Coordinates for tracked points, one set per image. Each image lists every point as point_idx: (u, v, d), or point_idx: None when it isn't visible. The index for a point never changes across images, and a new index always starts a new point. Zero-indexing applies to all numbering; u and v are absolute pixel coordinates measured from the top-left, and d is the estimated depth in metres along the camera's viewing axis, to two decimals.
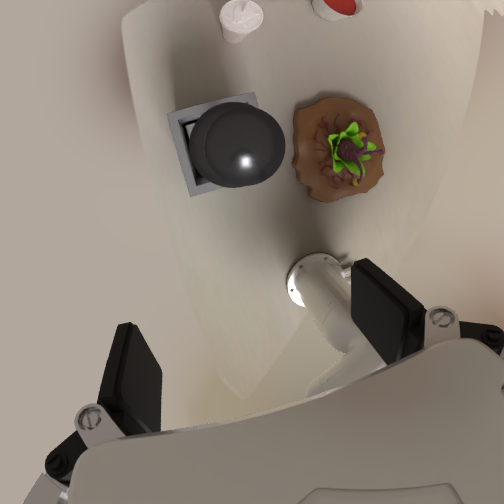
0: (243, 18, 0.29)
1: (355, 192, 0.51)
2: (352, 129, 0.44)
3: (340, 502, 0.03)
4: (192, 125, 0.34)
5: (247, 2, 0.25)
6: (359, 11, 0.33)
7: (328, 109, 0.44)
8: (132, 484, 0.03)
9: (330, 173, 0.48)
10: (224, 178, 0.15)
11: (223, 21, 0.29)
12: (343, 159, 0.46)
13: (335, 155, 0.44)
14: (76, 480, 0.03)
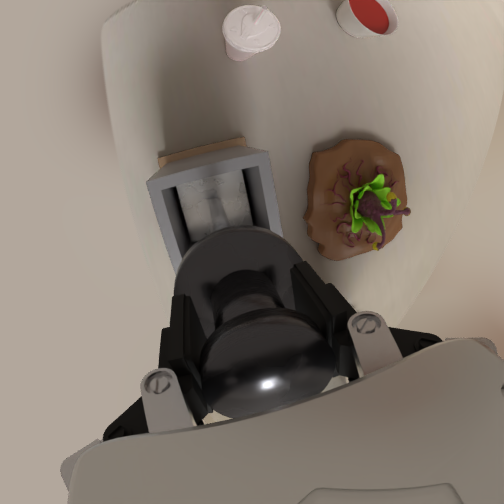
0: (253, 32, 0.23)
1: (370, 249, 0.45)
2: (377, 181, 0.38)
3: (340, 502, 0.03)
4: None
5: (261, 11, 0.19)
6: (393, 29, 0.27)
7: (351, 154, 0.38)
8: (132, 484, 0.03)
9: (346, 229, 0.43)
10: (235, 417, 0.09)
11: (227, 35, 0.23)
12: (363, 215, 0.41)
13: (355, 213, 0.39)
14: (76, 480, 0.03)
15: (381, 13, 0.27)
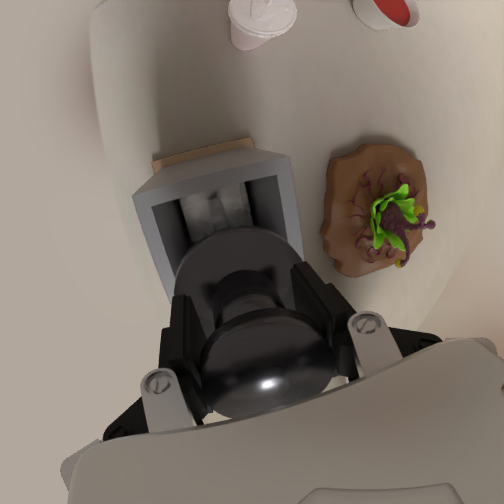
0: (265, 14, 0.18)
1: (390, 264, 0.41)
2: (400, 191, 0.34)
3: (340, 502, 0.03)
4: None
5: None
6: (415, 22, 0.22)
7: (372, 160, 0.34)
8: (132, 484, 0.03)
9: (366, 243, 0.38)
10: (235, 417, 0.09)
11: (234, 17, 0.18)
12: (384, 229, 0.36)
13: (378, 228, 0.34)
14: (76, 480, 0.03)
15: (401, 4, 0.22)
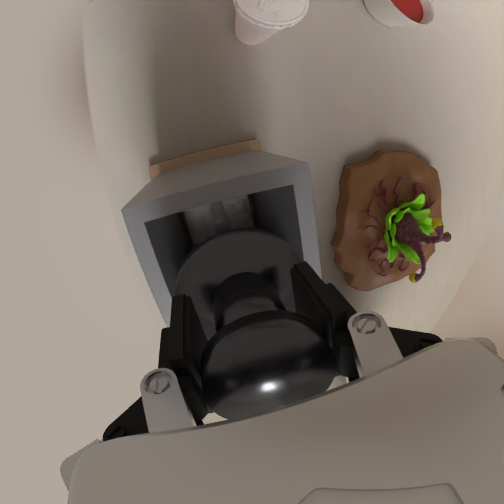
0: (274, 3, 0.16)
1: (402, 277, 0.38)
2: (416, 201, 0.31)
3: (340, 502, 0.03)
4: None
5: None
6: (430, 19, 0.20)
7: (388, 168, 0.31)
8: (132, 484, 0.03)
9: (379, 256, 0.36)
10: None
11: (240, 5, 0.15)
12: (398, 241, 0.34)
13: (393, 240, 0.31)
14: (76, 480, 0.03)
15: (414, 0, 0.20)
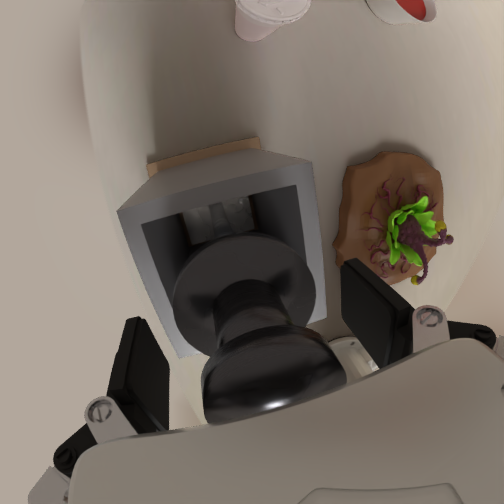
0: None
1: (403, 279, 0.38)
2: (419, 203, 0.31)
3: (340, 502, 0.03)
4: None
5: None
6: (432, 17, 0.19)
7: (392, 169, 0.31)
8: (132, 484, 0.03)
9: (381, 258, 0.35)
10: None
11: (240, 0, 0.15)
12: (401, 243, 0.33)
13: (395, 242, 0.31)
14: (76, 480, 0.03)
15: None
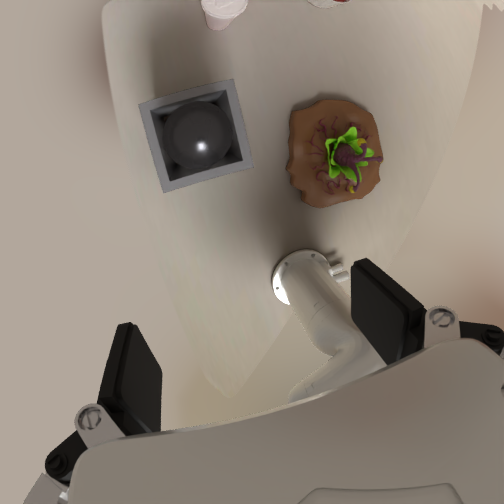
0: (226, 3, 0.26)
1: (350, 198, 0.50)
2: (350, 133, 0.42)
3: (340, 502, 0.03)
4: None
5: None
6: None
7: (326, 111, 0.42)
8: (132, 484, 0.03)
9: (326, 177, 0.47)
10: (183, 159, 0.19)
11: (204, 6, 0.25)
12: (339, 164, 0.45)
13: (332, 160, 0.43)
14: (76, 480, 0.03)
15: None
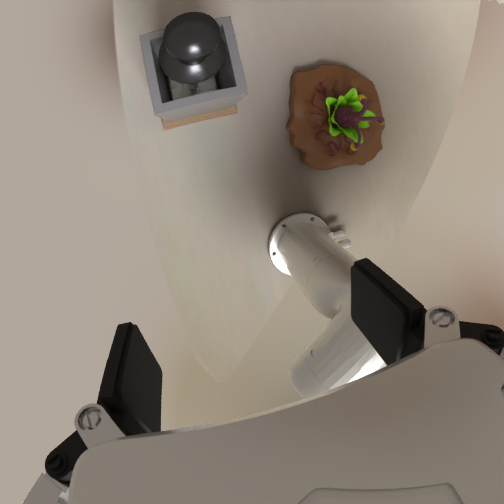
0: None
1: (352, 162, 0.47)
2: (351, 96, 0.40)
3: (340, 502, 0.03)
4: None
5: None
6: None
7: (327, 74, 0.40)
8: (132, 484, 0.03)
9: (326, 138, 0.44)
10: (174, 53, 0.16)
11: None
12: (340, 125, 0.42)
13: (332, 118, 0.40)
14: (76, 480, 0.03)
15: None
